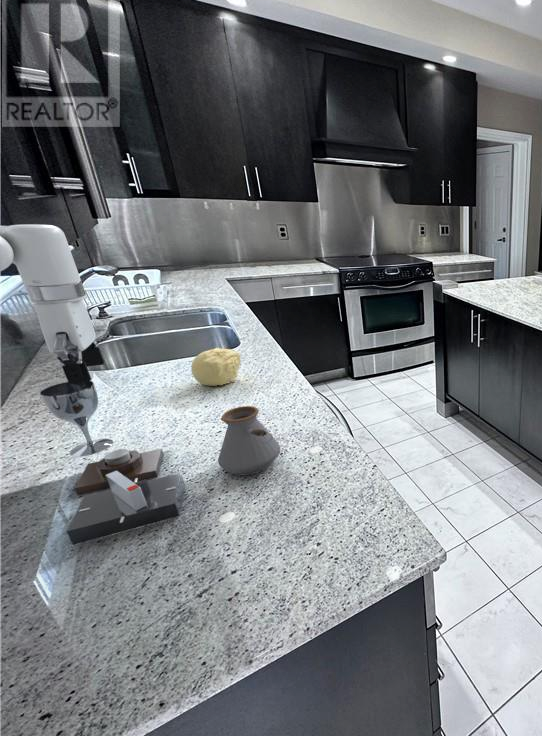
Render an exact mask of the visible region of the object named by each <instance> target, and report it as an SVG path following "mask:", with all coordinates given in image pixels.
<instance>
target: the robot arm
mask: <svg viewBox="0 0 542 736" xmlns="http://www.w3.org/2000/svg"><path fill="white" fill-rule="evenodd" d="M12 264H14V265H15V266H16V269H17V271H18V274H19V276H20V279H21V281H22V283H23V286H24V288H25V291H26V294H27V296H28V298H29V301H30V303H31V304H35V311H36V316H37V319H38V323H39V326H40V329H41V332H42V335H43V338H44V341H45V344H46V348H47V349H48V352H49V353H50V354H52V355H57V360H59V364H60V366H61V369H62V370H63V372H64V375H65V378H66V380H67V382H69V383H70V384H73V383H81V382H89V381H92V377H91V374H90V370H89V369H88V367H94V366H95V367H96V366H103V365H104V364H105V360H104V358H103V355H102V352H101V349H100V346H99V343H98V341H97V340H96V338H97V334H96V330H95V327H94V325H93V324H94V323H93V322H92V318H91V317H90V314H89V311H88V309H87V307H86V305H85V303H84V300H86V299H87V298H88V296H87V293H86V290H85V287H84V285H83V282H82V279H81V276H80V274H79V271H78V267H77V265H76V262H75V259H74V257H73V253H72V251H71V248H70V245H69V242H68V240H67V236H66V235H65V232H64V231H63V230H62V229H61V228H60V227H58V226H56V225H52V224H37V223H33V224H27V223H26V224H11V225H0V272H2V271H4V270H6V269H7V268H9V267H10V266H11V265H12Z"/></svg>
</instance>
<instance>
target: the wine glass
mask: <svg viewBox="0 0 542 736" xmlns="http://www.w3.org/2000/svg"><path fill="white" fill-rule="evenodd" d="M39 395H40V397H41V399H42V401H43V404H44V405H45V406H46V408H47V409H48V411H49V412H50V413H51V414H52V415H53V416H54V417H55V418H58V419H59V420H62V421H65V422H68V423H70V424H73V425H75V426H76V427H78V428H79V429H80V432H82V434H83V436H84V438H85V441H86V442H83V443H80V444H79V445H76V446H75V447H73V448H72V449H70V451H69V455H70V456H72V457H86V456H91V455H94V454H98V453H101V452H103V451H105V450H107V449H109V448H110V447H111V446H112V445H113V444H114V440H112V439H111V438H98V439H94V440H92V437H91V435H90V431H89V426H88V425H89V422H90V420H91V418H92V416H93V415H94V414H95V413H96V411H97V410H98V407H99V396H98V390H97V388H96V385H95V383H94V381H92V380H90V381H89V382H81V383H73V384H70V383H69V382H68V381H66V382H61V383H57V384H54V385H50V386H47V387H46V388H43V389H42V390H41V391H40V392H39Z"/></svg>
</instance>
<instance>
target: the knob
mask: <svg viewBox="0 0 542 736" xmlns="http://www.w3.org/2000/svg"><path fill="white" fill-rule="evenodd" d="M106 478H107V480H108V483H109V485H110V488H109V489H111V490H112V493H114V494H115V495H116V496H118V497H119V498H120V499H121V500H123V501H124V502H125V503H127V504H128V505H129V506H131V507H132V508H133V509H135V510H136V511H137V510H139V509H141V508H143V507H145V506H147V504H146V501H145V498H144V496H143V493H142V490H141V488H140V487H139V486H138V485H136V483H133V482H132V481H131V480H129V479H128V478H126V477H125V476H124V475H122V474H121V473H119V472H118V471H114V472H112V473H109V474H107V475H106Z"/></svg>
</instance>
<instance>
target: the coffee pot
mask: <svg viewBox="0 0 542 736" xmlns="http://www.w3.org/2000/svg"><path fill="white" fill-rule="evenodd" d="M259 411H260V410H259V409H258V407H256V406H252V405H245V406H237V407H235V408H232V409H229V410H227V411H226V412H224V413H223V414H222V416H221V417H220V421H222V422H224V424H226V425H227V428H226V431H225V434H224V437H223V440H222V441H223V442H222V443H221V447H220V450H219V455H218V457H217V458H218V459H217V462H218V463H217V464H218V465H219V467H220V468H222V469H223V470H224V471H226V472H229V473H230V474H231V473H232V474H235V475H237V476H238V475H239V476H248V475H253V474H258V473H259V472H262V471H264V470H266V469H267V468H268V467H269V466H271V465H272V463H274V462H275V460H276V459H277V458H278V456H279V453H280V451H281V450H280V449H281V446H280V444H279V442H278V441H277V440H276V439H275V438H274V436H273V435H272V433H271V432H269V431H268V429H267V428H266V427H265V426H264V425H263V424H262V422H260V421H259V420H258V418H257V416H258V414H259Z"/></svg>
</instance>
